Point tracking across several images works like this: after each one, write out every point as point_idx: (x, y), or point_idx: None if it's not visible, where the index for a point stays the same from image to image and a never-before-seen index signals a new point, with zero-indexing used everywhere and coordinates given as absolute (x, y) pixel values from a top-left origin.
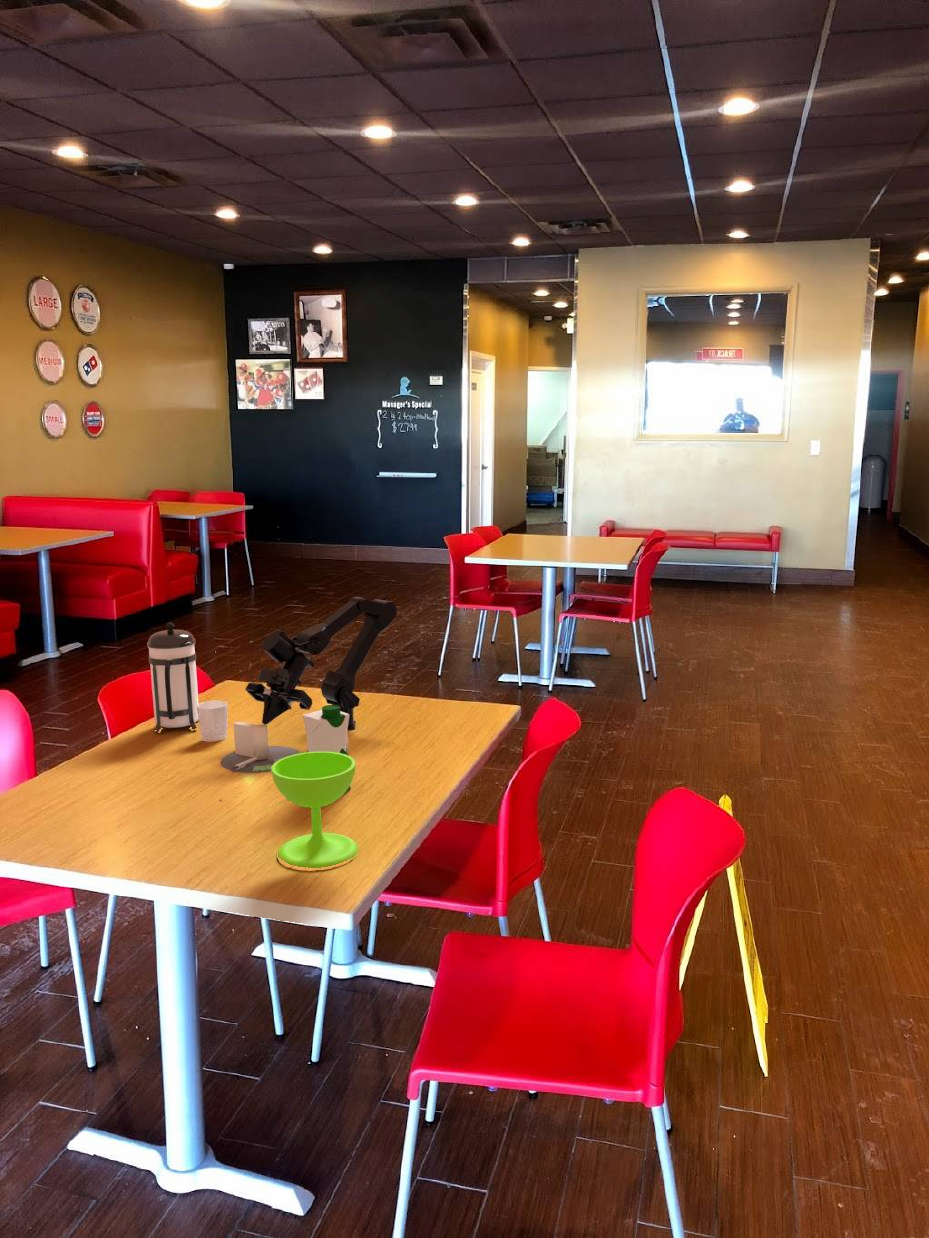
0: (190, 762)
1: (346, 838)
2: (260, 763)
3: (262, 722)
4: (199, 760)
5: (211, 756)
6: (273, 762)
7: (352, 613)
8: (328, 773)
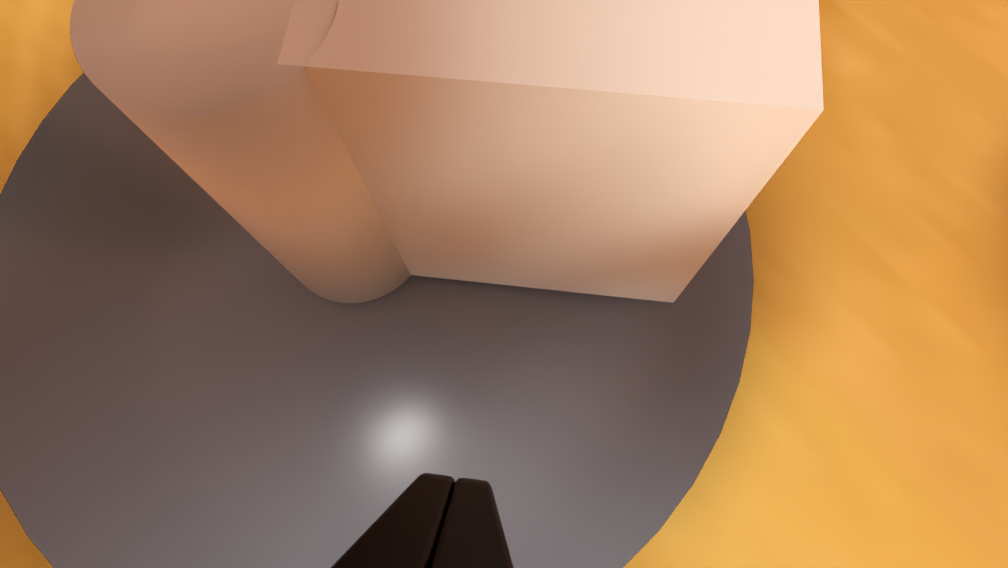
0: (934, 31)
1: None
2: None
3: (476, 482)
4: (909, 90)
5: (903, 203)
6: (199, 199)
7: None
8: None
